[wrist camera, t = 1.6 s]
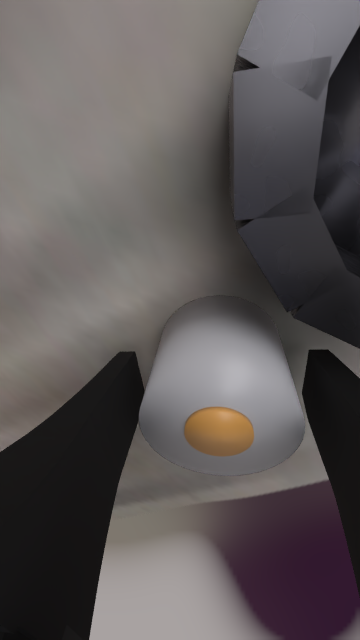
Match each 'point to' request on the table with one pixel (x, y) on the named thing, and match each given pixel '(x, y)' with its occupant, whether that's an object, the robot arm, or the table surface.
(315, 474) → the table surface
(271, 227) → the dark grey round ring
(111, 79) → the table surface
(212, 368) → the boiled egg half
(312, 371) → the robot arm
